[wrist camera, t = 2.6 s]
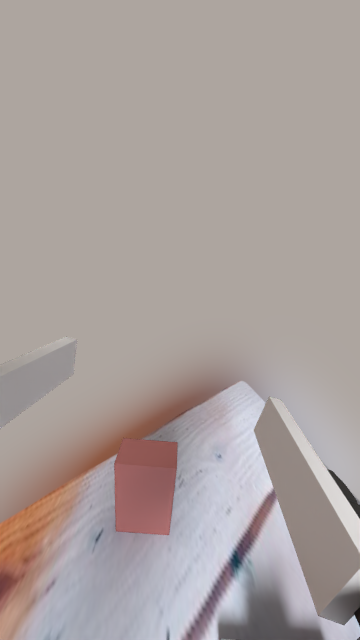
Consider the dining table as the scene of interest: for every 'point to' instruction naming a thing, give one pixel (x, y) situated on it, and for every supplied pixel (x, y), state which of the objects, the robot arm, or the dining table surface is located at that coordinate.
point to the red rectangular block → (145, 485)
